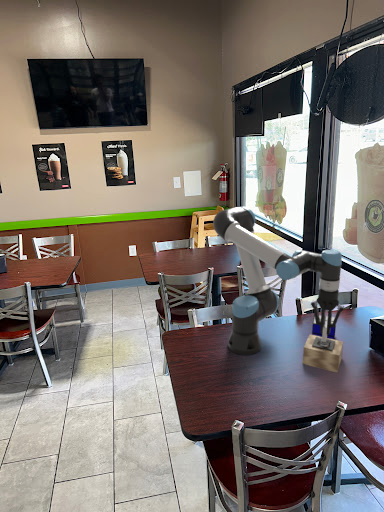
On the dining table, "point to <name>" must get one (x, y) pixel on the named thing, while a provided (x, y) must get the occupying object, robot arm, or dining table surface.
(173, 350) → the dining table surface
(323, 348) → the socket block
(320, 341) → the peg
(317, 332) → the puzzle cube
